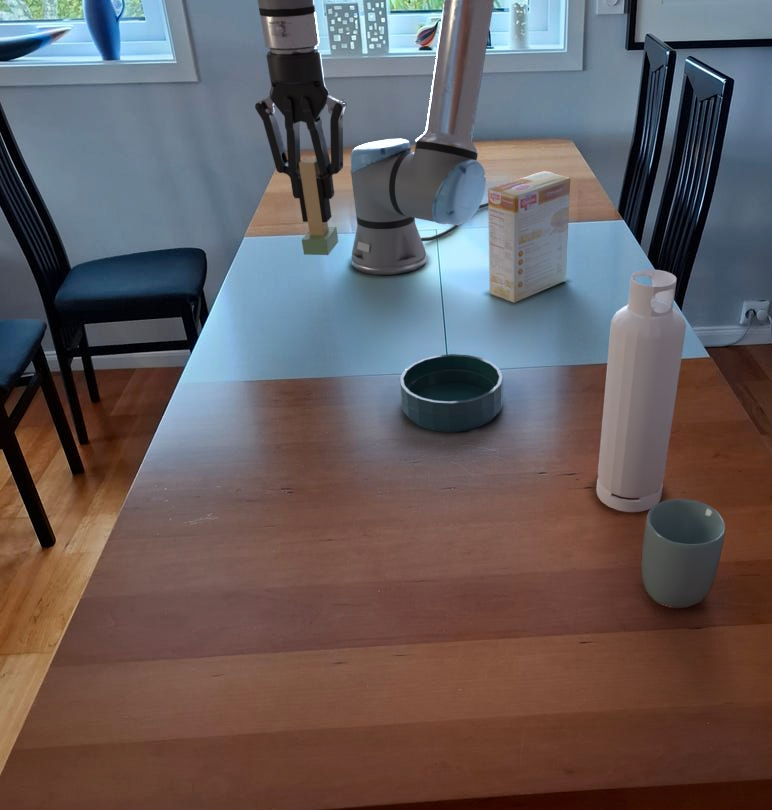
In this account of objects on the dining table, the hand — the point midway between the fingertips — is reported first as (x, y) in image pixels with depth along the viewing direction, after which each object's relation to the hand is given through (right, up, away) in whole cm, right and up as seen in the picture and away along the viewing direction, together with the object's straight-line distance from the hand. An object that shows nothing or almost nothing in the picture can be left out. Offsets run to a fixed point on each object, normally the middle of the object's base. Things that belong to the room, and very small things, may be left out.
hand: (317, 218), depth 127 cm
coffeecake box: (+35, -3, +29) cm, 45 cm away
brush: (0, -4, +3) cm, 5 cm away
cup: (+46, -55, -40) cm, 82 cm away
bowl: (+22, -31, -8) cm, 38 cm away
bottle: (+44, -44, -25) cm, 67 cm away
